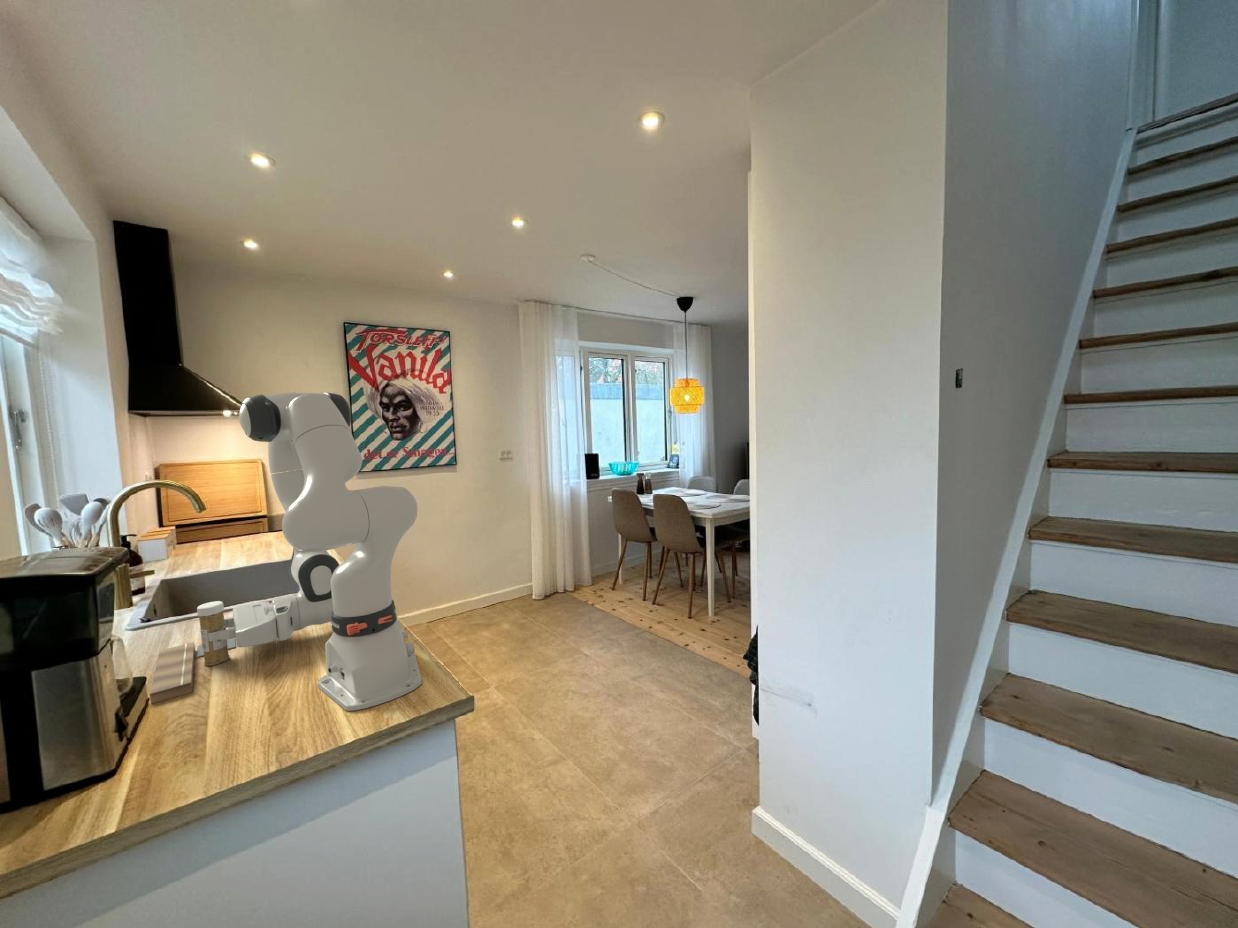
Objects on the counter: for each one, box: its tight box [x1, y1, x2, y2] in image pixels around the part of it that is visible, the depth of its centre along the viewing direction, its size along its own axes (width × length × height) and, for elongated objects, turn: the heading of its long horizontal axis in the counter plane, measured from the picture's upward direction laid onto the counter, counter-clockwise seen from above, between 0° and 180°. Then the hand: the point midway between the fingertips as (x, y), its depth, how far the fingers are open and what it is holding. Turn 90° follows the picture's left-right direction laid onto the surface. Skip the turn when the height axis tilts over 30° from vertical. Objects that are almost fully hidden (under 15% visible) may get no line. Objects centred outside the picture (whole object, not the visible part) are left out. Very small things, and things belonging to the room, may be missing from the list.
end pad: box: [196, 638, 237, 658], centre depth 118 cm, size 7×7×1 cm
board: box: [149, 641, 196, 705], centre depth 106 cm, size 24×6×2 cm, turn 40°
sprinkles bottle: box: [196, 600, 230, 667], centre depth 110 cm, size 5×5×13 cm
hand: (208, 632), depth 110 cm, fingers closed on sprinkles bottle, 4 cm apart
